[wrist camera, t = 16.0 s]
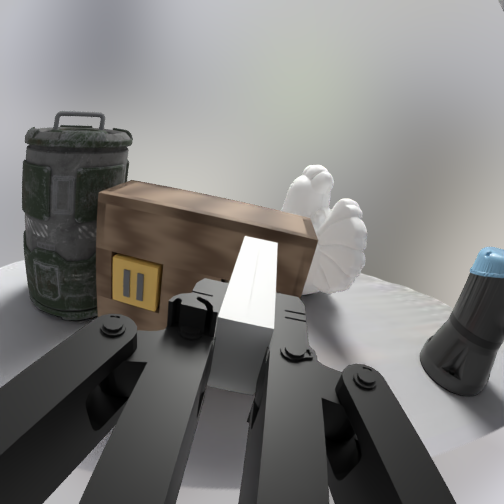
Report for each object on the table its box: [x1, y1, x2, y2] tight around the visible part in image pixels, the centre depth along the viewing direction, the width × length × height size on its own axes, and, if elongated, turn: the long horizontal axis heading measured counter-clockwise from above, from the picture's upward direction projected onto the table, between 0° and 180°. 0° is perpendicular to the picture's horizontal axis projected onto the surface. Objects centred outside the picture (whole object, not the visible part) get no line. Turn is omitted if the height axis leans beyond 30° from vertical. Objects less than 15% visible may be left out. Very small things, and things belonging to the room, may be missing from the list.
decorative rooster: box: [281, 165, 367, 295], centre depth 57 cm, size 25×16×25 cm, turn 9°
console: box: [96, 180, 318, 331], centre depth 36 cm, size 22×8×20 cm, turn 85°
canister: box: [22, 111, 133, 320], centre depth 39 cm, size 16×16×28 cm
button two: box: [112, 253, 163, 312], centre depth 34 cm, size 5×5×5 cm
